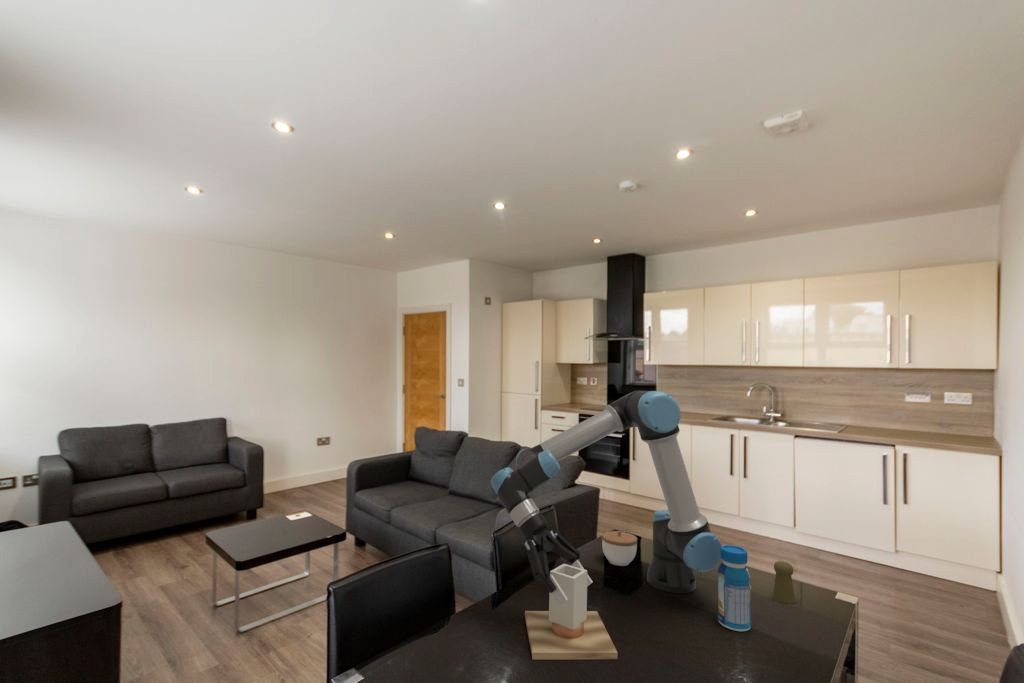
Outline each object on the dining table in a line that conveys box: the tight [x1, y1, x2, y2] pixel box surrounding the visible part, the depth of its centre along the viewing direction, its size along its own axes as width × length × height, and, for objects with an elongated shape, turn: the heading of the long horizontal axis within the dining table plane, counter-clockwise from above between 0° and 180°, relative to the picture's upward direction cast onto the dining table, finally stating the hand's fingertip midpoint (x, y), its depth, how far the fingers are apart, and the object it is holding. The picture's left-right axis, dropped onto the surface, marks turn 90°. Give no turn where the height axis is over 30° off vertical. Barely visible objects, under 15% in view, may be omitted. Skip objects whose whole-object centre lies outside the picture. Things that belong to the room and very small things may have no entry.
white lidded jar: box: [601, 530, 638, 567], centre depth 171 cm, size 13×13×11 cm
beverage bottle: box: [716, 544, 752, 632], centre depth 129 cm, size 8×8×20 cm
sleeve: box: [548, 563, 588, 630], centre depth 121 cm, size 7×7×12 cm
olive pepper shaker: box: [772, 560, 796, 605], centre depth 145 cm, size 6×6×11 cm
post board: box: [524, 610, 619, 661], centre depth 120 cm, size 20×20×13 cm
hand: (577, 593), depth 119 cm, fingers open, 12 cm apart
